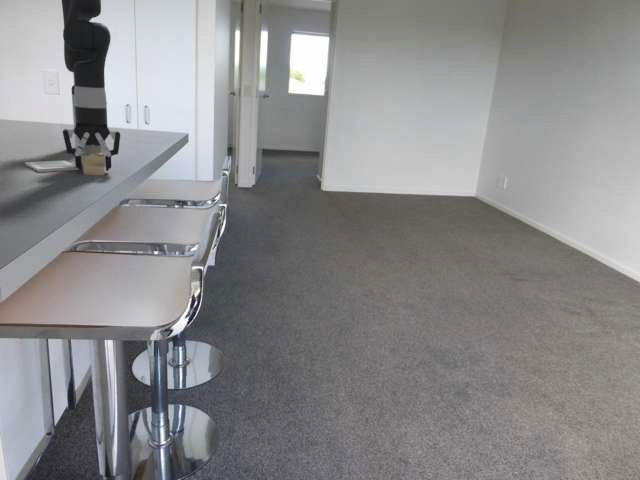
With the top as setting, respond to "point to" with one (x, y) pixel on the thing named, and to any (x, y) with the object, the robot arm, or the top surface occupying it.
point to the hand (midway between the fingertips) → (93, 169)
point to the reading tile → (51, 166)
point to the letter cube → (93, 164)
